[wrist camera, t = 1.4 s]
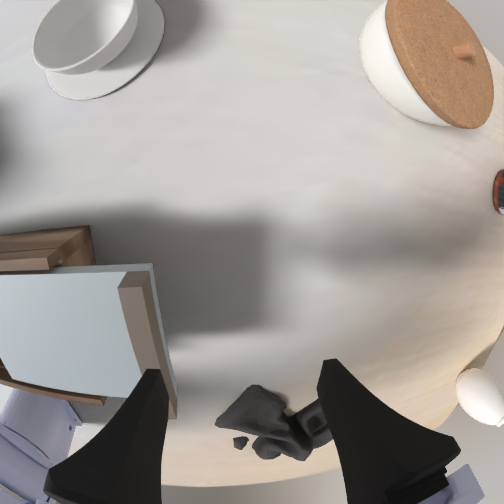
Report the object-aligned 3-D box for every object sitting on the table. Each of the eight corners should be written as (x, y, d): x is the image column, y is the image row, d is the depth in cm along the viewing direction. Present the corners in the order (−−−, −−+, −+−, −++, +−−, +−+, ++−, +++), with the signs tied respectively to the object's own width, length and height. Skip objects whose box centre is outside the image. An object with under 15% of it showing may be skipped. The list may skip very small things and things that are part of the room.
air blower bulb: (445, 395, 37) (490, 451, 21) (448, 377, 34) (501, 440, 18) (471, 371, 37) (517, 422, 20) (476, 351, 34) (530, 406, 17)
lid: (177, 388, 17) (176, 418, 14) (16, 371, 15) (4, 392, 12) (152, 262, 14) (141, 287, 11) (-27, 270, 11) (-48, 286, 9)
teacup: (145, 103, 15) (126, 87, 11) (35, 104, 13) (1, 98, 9) (181, -7, 12) (177, -40, 8) (72, 1, 10) (51, -21, 6)
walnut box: (120, 353, 21) (104, 406, 15) (5, 341, 19) (-20, 376, 13) (89, 225, 17) (46, 256, 11) (-30, 240, 15) (-69, 264, 9)
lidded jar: (417, 30, 15) (485, 9, 6) (440, 129, 19) (518, 135, 10) (322, 10, 14) (384, -45, 5) (350, 129, 18) (440, 123, 9)
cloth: (203, 385, 25) (206, 433, 19) (368, 357, 28) (394, 392, 22) (224, 467, 33) (228, 498, 27) (333, 446, 35) (345, 473, 30)
